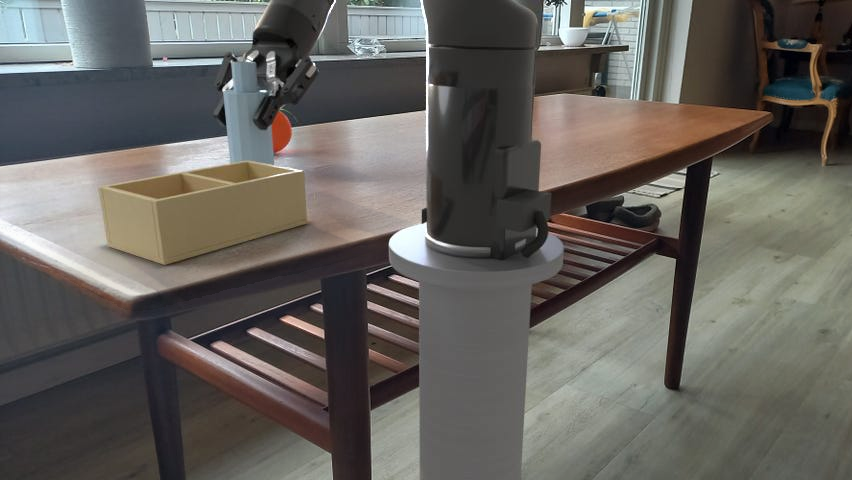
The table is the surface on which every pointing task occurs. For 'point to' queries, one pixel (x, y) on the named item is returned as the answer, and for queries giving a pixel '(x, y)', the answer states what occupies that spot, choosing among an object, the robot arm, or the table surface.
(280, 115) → the clementine
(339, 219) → the table surface
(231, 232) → the holder
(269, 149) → the bottle
